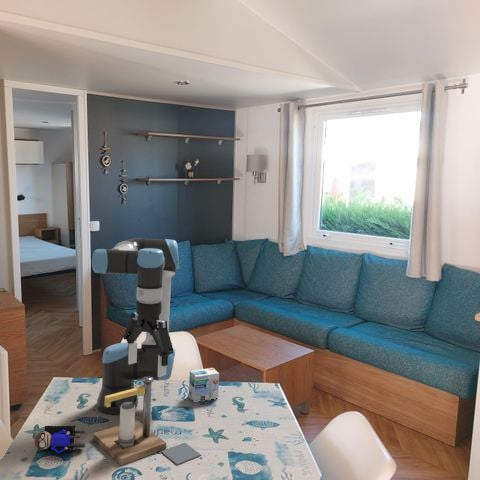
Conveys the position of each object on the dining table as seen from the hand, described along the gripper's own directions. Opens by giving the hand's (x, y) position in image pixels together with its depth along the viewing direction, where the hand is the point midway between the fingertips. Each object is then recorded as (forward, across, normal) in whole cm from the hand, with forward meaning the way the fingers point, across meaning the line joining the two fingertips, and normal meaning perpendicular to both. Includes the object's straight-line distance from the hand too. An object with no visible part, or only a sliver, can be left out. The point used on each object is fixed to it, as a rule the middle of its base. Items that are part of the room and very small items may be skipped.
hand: (146, 369), depth 148 cm
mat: (+28, +7, +10) cm, 31 cm away
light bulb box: (+29, -17, +45) cm, 56 cm away
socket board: (+28, -10, +2) cm, 30 cm away
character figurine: (+29, -22, -15) cm, 39 cm away
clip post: (+27, -7, +7) cm, 28 cm away
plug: (+28, -8, 0) cm, 30 cm away
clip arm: (+12, -8, -1) cm, 15 cm away
